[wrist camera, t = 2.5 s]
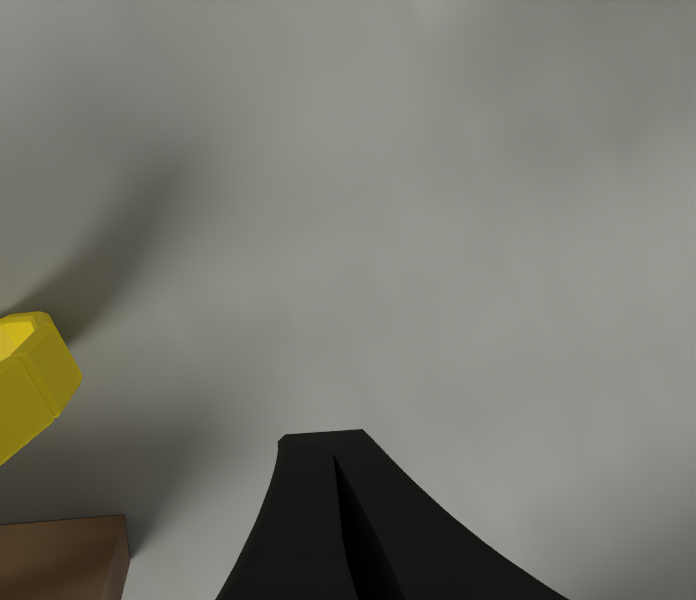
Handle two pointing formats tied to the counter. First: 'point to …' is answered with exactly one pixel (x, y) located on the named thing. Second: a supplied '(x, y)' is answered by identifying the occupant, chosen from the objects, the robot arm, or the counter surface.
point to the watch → (32, 378)
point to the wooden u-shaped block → (64, 559)
